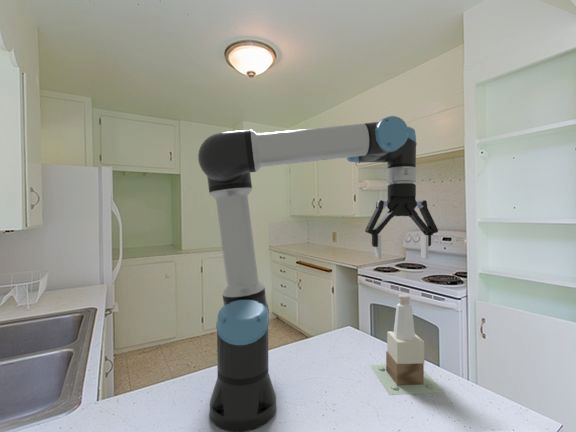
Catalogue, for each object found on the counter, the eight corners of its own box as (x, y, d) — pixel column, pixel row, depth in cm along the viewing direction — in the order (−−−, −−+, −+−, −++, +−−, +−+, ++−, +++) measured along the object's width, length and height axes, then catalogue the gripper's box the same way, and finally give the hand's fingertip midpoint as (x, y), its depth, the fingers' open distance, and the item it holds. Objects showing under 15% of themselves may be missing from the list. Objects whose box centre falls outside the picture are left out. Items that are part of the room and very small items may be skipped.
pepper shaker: (404, 342, 76) (404, 299, 76) (389, 334, 81) (389, 293, 81) (419, 338, 78) (419, 296, 78) (404, 331, 83) (404, 291, 83)
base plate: (389, 398, 72) (389, 393, 72) (369, 368, 86) (369, 363, 86) (444, 396, 73) (444, 390, 73) (416, 366, 87) (416, 362, 87)
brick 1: (397, 363, 76) (397, 342, 76) (387, 351, 83) (387, 331, 83) (424, 363, 76) (424, 341, 76) (412, 350, 83) (412, 331, 83)
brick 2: (397, 385, 76) (397, 364, 76) (386, 370, 83) (386, 351, 83) (423, 384, 76) (423, 363, 76) (410, 370, 83) (410, 350, 83)
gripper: (362, 182, 80) (362, 260, 80) (451, 182, 82) (451, 259, 82) (354, 184, 88) (354, 256, 88) (436, 184, 89) (436, 255, 89)
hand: (401, 258), depth 85 cm, fingers open, 13 cm apart
